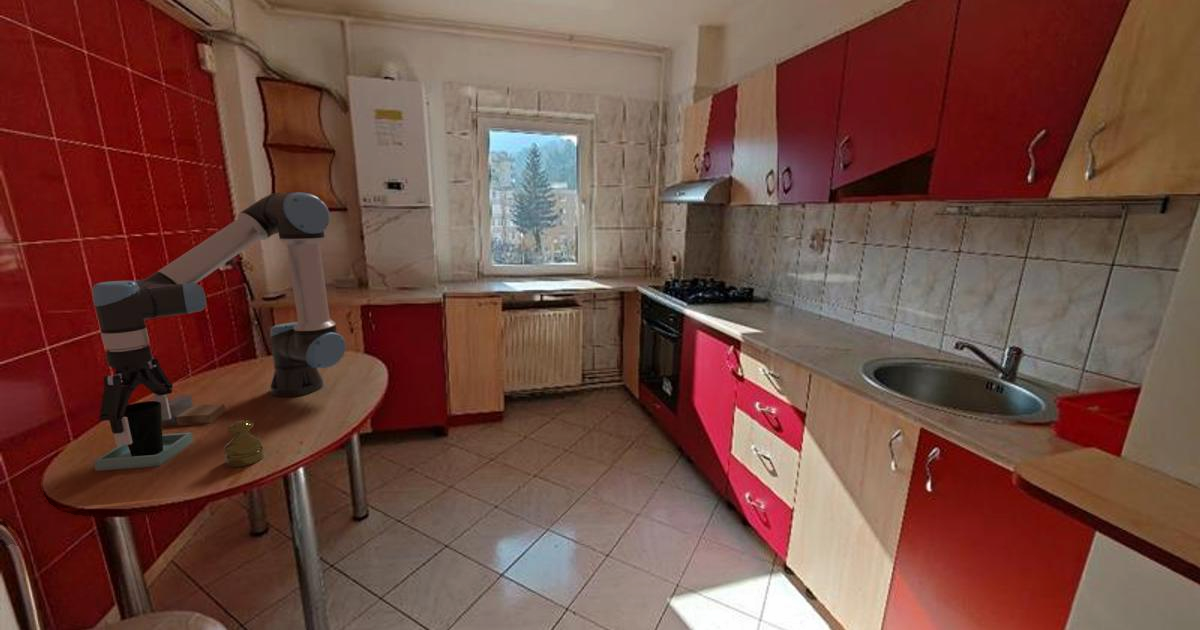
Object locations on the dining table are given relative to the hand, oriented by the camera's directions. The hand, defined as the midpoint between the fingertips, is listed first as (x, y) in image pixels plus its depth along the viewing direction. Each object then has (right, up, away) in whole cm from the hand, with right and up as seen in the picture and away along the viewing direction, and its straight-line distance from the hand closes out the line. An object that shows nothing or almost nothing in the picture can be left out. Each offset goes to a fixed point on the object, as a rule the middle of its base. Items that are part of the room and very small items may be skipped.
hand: (145, 431), depth 113 cm
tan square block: (-5, -2, +22) cm, 23 cm away
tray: (0, -6, +1) cm, 6 cm away
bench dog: (-11, -2, +21) cm, 23 cm away
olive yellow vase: (+25, -7, 0) cm, 26 cm away
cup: (0, -6, +1) cm, 6 cm away
